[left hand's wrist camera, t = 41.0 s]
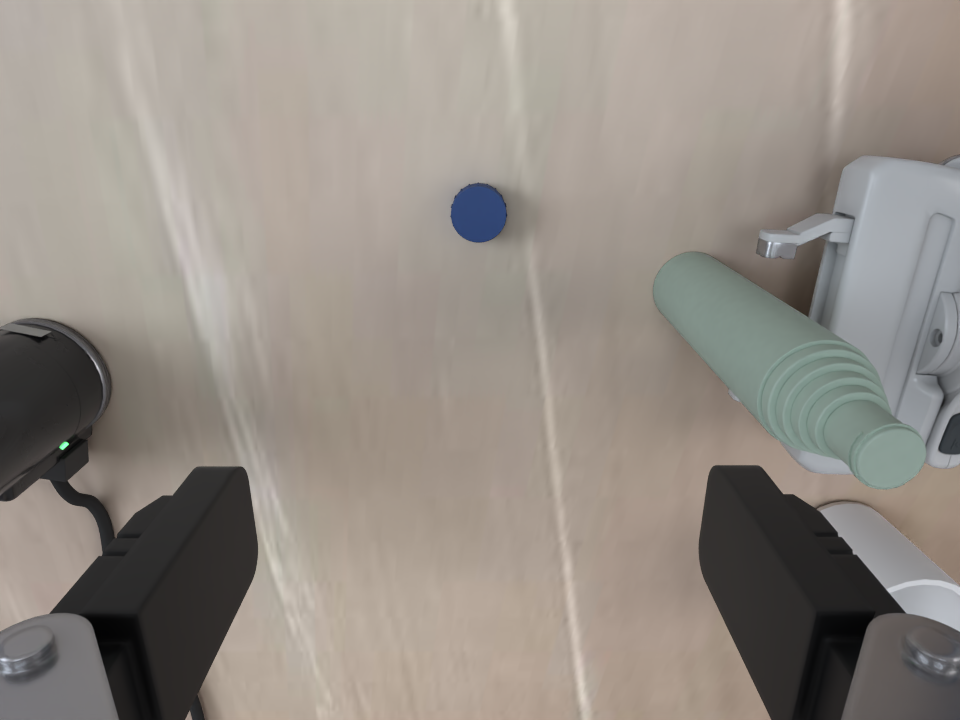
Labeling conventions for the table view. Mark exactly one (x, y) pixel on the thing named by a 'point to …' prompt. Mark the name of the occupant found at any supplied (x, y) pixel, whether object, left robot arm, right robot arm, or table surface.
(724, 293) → the bottle
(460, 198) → the cap
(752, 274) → the table surface
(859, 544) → the mug
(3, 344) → the left robot arm
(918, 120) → the table surface
